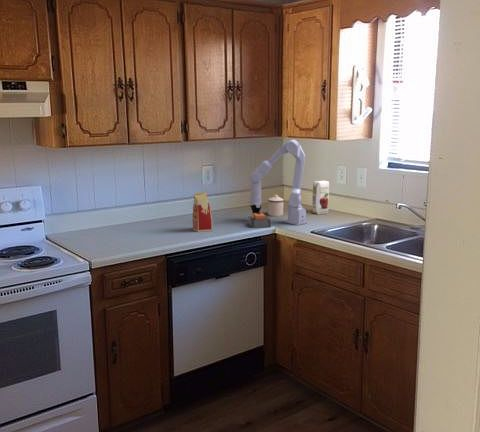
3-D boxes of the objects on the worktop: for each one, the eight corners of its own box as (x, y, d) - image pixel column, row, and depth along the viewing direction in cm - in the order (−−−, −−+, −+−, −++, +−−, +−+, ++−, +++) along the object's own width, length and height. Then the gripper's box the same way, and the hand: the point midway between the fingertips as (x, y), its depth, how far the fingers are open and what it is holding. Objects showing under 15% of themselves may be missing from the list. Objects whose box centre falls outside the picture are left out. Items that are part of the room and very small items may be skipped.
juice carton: (310, 212, 312) (311, 180, 309) (322, 211, 316) (323, 180, 312) (317, 215, 306) (318, 182, 302) (329, 213, 309) (331, 181, 305)
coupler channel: (270, 227, 274) (270, 219, 273) (251, 227, 272) (251, 220, 272) (266, 223, 283) (266, 215, 282) (248, 223, 282) (248, 216, 281)
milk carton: (207, 227, 274) (207, 188, 270) (213, 230, 265) (212, 191, 261) (190, 228, 271) (189, 189, 267) (195, 232, 262) (195, 192, 258)
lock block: (265, 227, 275) (265, 215, 273) (255, 227, 274) (255, 215, 273) (262, 223, 282) (262, 212, 281) (253, 224, 282) (253, 212, 280)
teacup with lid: (286, 215, 304) (287, 195, 302) (273, 217, 300) (273, 196, 298) (275, 211, 315) (275, 192, 312) (262, 213, 310) (262, 193, 308)
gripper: (246, 191, 292) (246, 216, 295) (250, 196, 278) (250, 221, 281) (259, 191, 293) (258, 215, 296) (264, 195, 279) (263, 221, 282)
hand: (255, 218), depth 288 cm, fingers closed
